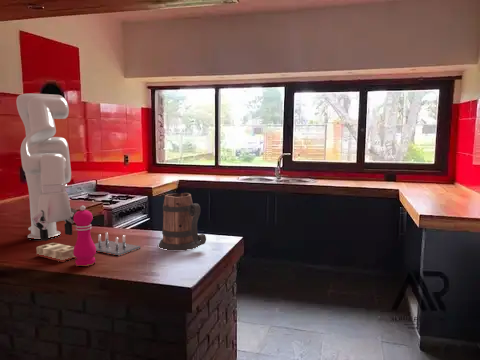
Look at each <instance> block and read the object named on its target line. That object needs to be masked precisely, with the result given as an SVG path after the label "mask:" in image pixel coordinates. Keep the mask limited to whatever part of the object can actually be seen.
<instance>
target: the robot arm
mask: <svg viewBox="0 0 480 360" xmlns="http://www.w3.org/2000/svg"><path fill="white" fill-rule="evenodd" d="M16 108H17V112H18V115H19V117H20V119H21V121H22V123H23V126H24V129H25V137H24V138H23V140H22V142H21V146H20V159H21V167H22V170H23V172H24V175H25V178H26V183H27V188H28V189H27V190H28V195H29V196H28V198H29V210H30V211H29V212H30V213H29V214H30V223H31V224H30V225H31V226H29V227H28V231H30V233H29V234H28V235H27V239H28V238H34V239H41V240H40V241H44V242H48V241H49V239H48V238H50V237H54V236H58V235H60V234H61V231H59V230H57V223H58V222H61V221H64V222H65V223H64V234H65V235H67V236H72V235H73V224H74V219H73V217H74V214H75V213H76V212H78V210H77V209H74V208H72V207H71V204H70V198H69V194H68V192H67V191H66V190H67V188H69V186H68V183H70V182H71V180H72V168H71V167H72V166H71V157H70V149H69V143H68V141H67V140H66V138H64V137H62V136H55V135H56V133H57V129H56V123H55V119H58V120H61V119H62V120H65V119H67V118H68V117H69V112H70V110H69V109H70V107H69V104H68V102H67V100H66V98H64V96H62V95H60V94H49V93H32V92H31V93H22V94H20V95H17V97H16ZM60 236H61V235H60ZM58 237H59V236H58Z"/></svg>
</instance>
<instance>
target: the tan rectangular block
mask: <svg viewBox="0 0 480 360" xmlns="http://www.w3.org/2000/svg"><path fill="white" fill-rule="evenodd" d="M73 250H74V246H72V245H66V244H63V243H57V242H50V243H46V244H42V245H39V246H36V255H37V254H39V255H44V256H48V257H52V258H56V259H60V260H65V259H68V258H72V257H75V256H74V254H73Z"/></svg>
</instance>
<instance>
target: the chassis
mask: <svg viewBox="0 0 480 360" xmlns="http://www.w3.org/2000/svg"><path fill="white" fill-rule="evenodd" d="M104 235H105V240H103V241H102V234H97V237H98V240H97V242H96V243H94V244H95V247H96V251H100V252H106V253H111V254H115V255H121V254H124V253H127V252H130V251H132V250H135V249H138V248H140V249H141V246H140V245H135V244H129V243H126V234H123V235H122V240H121V241H122V242H119V237H118V236H116V237H115V239H114V241H113V240H109V233H108V232H105V233H104ZM138 250H139V249H138ZM135 251H136V250H135ZM132 252H133V251H132ZM130 253H131V252H130ZM127 254H128V253H127ZM124 255H125V254H124ZM121 256H122V255H121Z"/></svg>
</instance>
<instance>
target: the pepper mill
mask: <svg viewBox="0 0 480 360" xmlns="http://www.w3.org/2000/svg"><path fill="white" fill-rule="evenodd" d="M93 217H94V216H93V213H92V212H91V211H90V210H88V209H86V206H85V205H81V206H80V207H79V210H77V212H76V213H75V214H74V217H73V219H74V221H73V223H74V224H76V225H75V231H76V232H77V236H76V237H77V238H76V241H75V243H74V246H73V247H74V250H73V254H74V256H75V257H76V258H75V261H74V262H75V263H76V264H77V265H87V264H92V263H94V262H95V263H96V257H95V255H96V254H97V252H96V247H95V244H96V243H94V241H93V239H92V236H91V229H93V228H92V224H91V223H92V221H93V220H94V218H93ZM76 264H75V265H76Z"/></svg>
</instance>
